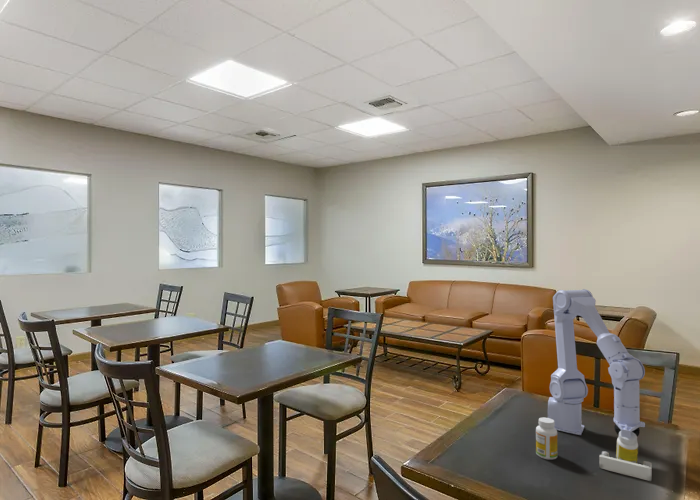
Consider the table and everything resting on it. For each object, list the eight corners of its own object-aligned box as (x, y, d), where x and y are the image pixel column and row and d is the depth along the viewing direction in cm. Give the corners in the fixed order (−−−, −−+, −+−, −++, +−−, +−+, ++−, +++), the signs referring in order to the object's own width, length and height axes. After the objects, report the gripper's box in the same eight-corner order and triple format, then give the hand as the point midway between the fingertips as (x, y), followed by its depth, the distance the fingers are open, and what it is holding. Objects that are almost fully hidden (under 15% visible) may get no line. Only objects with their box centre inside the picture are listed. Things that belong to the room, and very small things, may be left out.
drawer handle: (599, 468, 110) (599, 456, 110) (602, 455, 117) (602, 444, 117) (651, 481, 104) (651, 469, 104) (651, 467, 110) (651, 456, 110)
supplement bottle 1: (556, 452, 119) (556, 417, 119) (558, 461, 114) (558, 425, 114) (535, 449, 120) (535, 415, 120) (536, 458, 115) (536, 422, 115)
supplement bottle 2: (641, 468, 110) (642, 441, 108) (621, 469, 111) (623, 441, 108) (631, 454, 115) (632, 428, 112) (612, 455, 115) (613, 429, 113)
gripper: (644, 416, 106) (645, 470, 106) (644, 398, 118) (645, 447, 118) (611, 410, 110) (612, 462, 110) (614, 393, 122) (615, 441, 122)
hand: (627, 454), depth 114 cm, fingers closed, pressing on supplement bottle 2
